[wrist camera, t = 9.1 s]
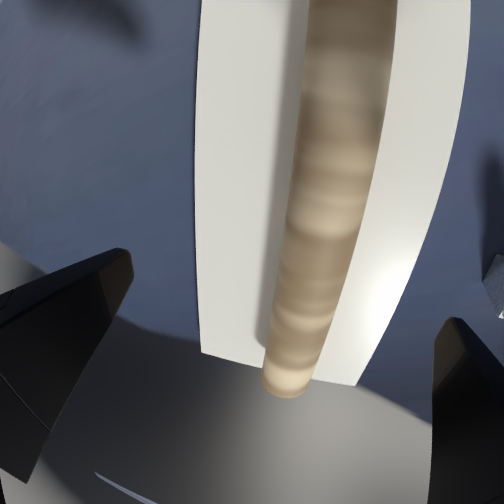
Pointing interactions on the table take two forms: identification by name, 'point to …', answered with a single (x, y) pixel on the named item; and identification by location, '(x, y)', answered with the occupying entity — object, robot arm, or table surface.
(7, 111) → the table surface
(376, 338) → the cutting board
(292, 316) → the beech dowel
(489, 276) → the aluminium cradles
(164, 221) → the table surface
